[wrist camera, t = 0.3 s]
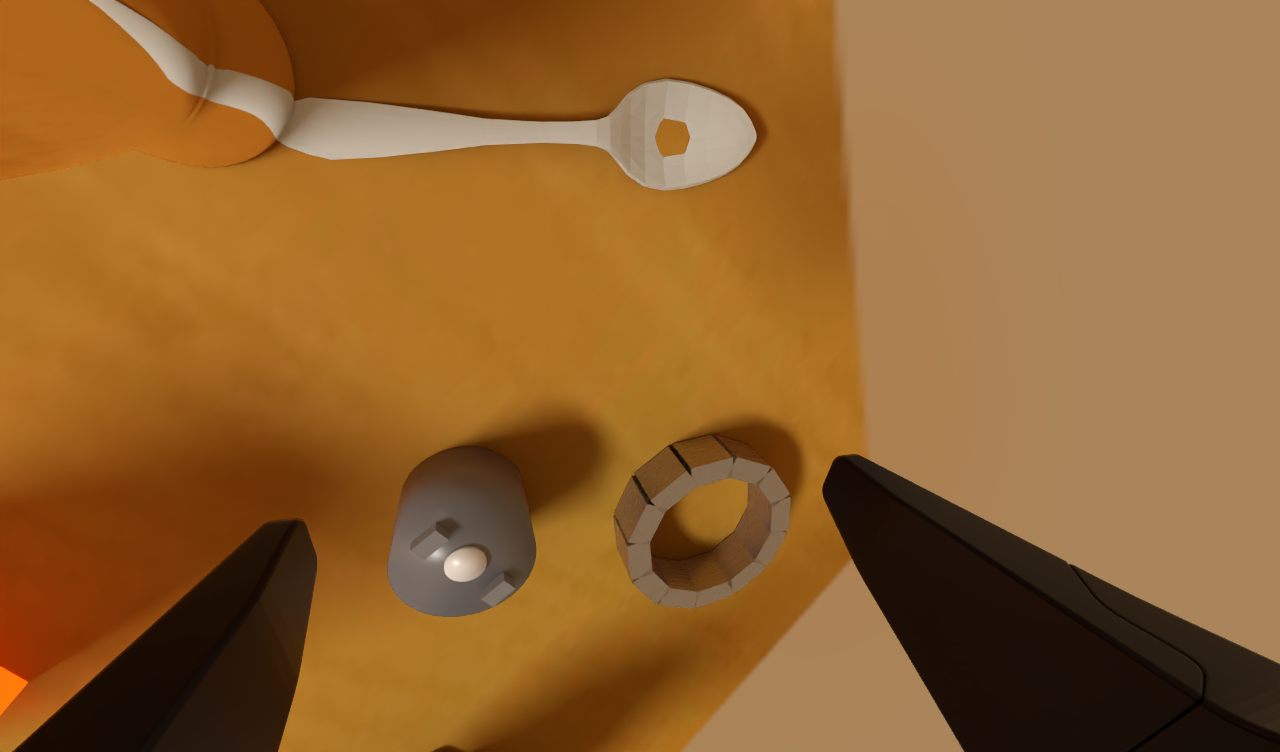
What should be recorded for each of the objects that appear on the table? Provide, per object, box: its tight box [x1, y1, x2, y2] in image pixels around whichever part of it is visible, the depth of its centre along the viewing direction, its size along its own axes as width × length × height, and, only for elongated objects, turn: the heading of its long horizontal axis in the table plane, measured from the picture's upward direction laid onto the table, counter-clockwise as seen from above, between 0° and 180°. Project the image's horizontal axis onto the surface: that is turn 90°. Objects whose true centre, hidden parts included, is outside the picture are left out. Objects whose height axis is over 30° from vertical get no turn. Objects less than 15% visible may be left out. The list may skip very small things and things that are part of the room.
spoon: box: [277, 79, 757, 191], centre depth 18 cm, size 4×21×2 cm, turn 90°
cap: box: [388, 446, 536, 617], centre depth 21 cm, size 6×6×5 cm
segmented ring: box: [614, 434, 791, 609], centre depth 27 cm, size 10×10×2 cm
